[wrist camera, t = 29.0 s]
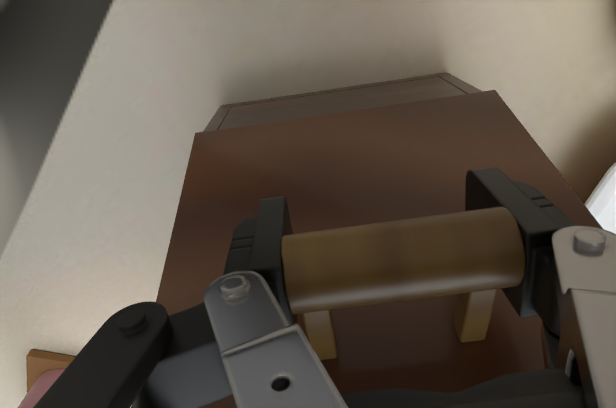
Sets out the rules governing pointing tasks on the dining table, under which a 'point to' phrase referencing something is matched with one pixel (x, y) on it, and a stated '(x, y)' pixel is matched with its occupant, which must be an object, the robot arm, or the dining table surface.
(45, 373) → the tube
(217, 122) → the chest
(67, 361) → the cork mat
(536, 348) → the lid
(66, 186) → the dining table surface
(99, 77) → the dining table surface
